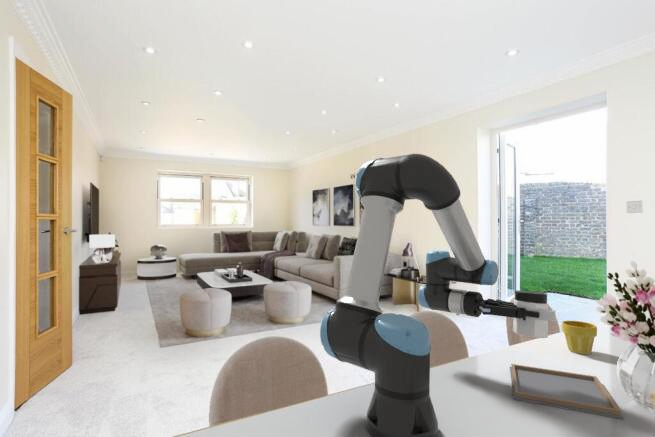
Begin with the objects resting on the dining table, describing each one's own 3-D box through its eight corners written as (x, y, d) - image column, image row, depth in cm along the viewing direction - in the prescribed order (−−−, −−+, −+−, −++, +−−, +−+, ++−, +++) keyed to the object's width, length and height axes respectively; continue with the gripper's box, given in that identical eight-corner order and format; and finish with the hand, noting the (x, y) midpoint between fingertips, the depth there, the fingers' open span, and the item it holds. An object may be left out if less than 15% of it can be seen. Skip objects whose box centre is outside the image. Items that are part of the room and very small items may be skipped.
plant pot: (554, 348, 133) (554, 321, 133) (576, 345, 136) (576, 319, 136) (582, 357, 123) (582, 328, 123) (604, 354, 126) (604, 326, 126)
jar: (508, 333, 104) (509, 290, 105) (516, 330, 109) (518, 289, 110) (543, 340, 97) (545, 295, 98) (551, 336, 103) (552, 293, 104)
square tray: (513, 399, 92) (513, 392, 92) (509, 368, 113) (509, 363, 113) (623, 419, 83) (623, 412, 83) (597, 381, 103) (597, 376, 103)
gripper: (475, 311, 117) (560, 325, 101) (457, 318, 108) (548, 335, 91) (475, 288, 118) (560, 298, 101) (457, 293, 108) (548, 306, 92)
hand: (554, 316), depth 97 cm, fingers closed on jar
